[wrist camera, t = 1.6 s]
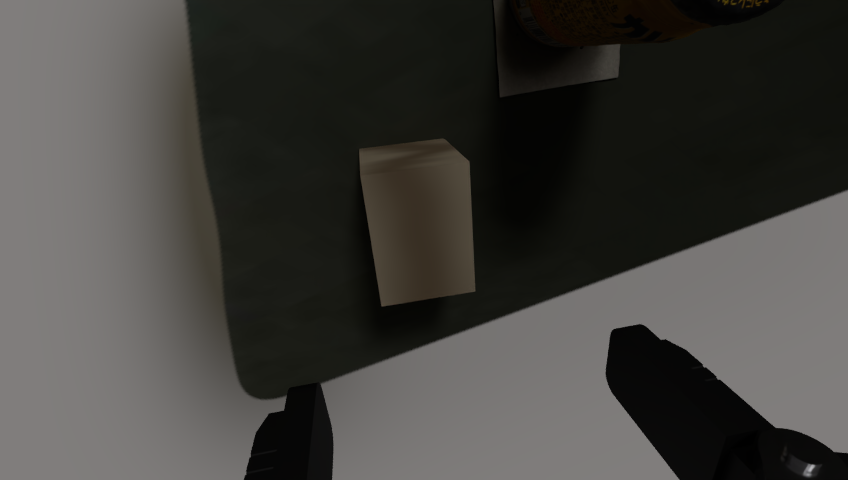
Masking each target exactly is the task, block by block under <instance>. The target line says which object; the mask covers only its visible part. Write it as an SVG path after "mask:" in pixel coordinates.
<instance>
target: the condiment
mask: <svg viewBox="0 0 848 480" xmlns="http://www.w3.org/2000/svg"><path fill="white" fill-rule="evenodd" d="M783 1H784V0H493V3H494V13H495V15H494V17H495V25H496V45H497V63H498V74H499V91H500V97H505V96H511V95H516V94H521V93H527V92H533V91H539V90H544V89H550V88H556V87H562V86H567V85H574V84H580V83H586V82H592V81H597V80H604V79H610V78H616V77H618V68H619V50H620V44H638V43H664V42H669V41H673V40H677V39H681V38H684V37H687V36H689V35H691V34H693V33H695V32H697V31H699V30H701V29H704V28H709V27H714V26H718V25H730V24H732V23H741V22H745V21H747V20H750V19H752V18H754V17H758V16H760V15H762V14H764V13H765V12H767V11H769V10H771V9H773V8H775V7H777V6H778V5H780V4H781V3H782V2H783ZM516 33H519V35H518V36H516ZM580 46H584V47H583V49H580Z"/></svg>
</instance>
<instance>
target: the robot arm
mask: <svg viewBox="0 0 848 480" xmlns="http://www.w3.org/2000/svg"><path fill="white" fill-rule="evenodd" d="M606 379H607V382H608V385H609V388H610V390H611V392H612V393H613V395H614V396H615V397H616V399H617V400H618V401H619V402H620V404H621V405H622V406H623V407H624V409H625V410H626V411H627V413H628V414H629V415H630V416H631V418H632V419H633V420H634V422H635V423H636V424H637V426H638V427H639V428H640V429H641V431H642V432H643V433H644V435H645V436H646V437H647V438H648V440H649V441H650V442H651V443H652V445H653V446H654V447H655V449H656V450H657V451H658V453H659V454H660V455H661V456H662V458H663V459H664V460H665V461H666V463H667V464H668V465H669V467H670V468H671V469H672V471H673V472H674V473H675V474H676V476H677V477H678V478H679V479H680V480H848V453H838V452H833V451H832V450H831V449H830V448H828V447H827V446H826V445H824V444H823V443H821V442H819V441H818V440H816V439H814V438H812V437H810V436H808V435H805V434H802V433H800V432H797V431H794V430H789V429H783V428H775V427H774V426H773V425H771V424H770V423H769V422H768V421H767V420H766V419H765V418H763V417H762V416H761V415H760V414H759V413H758V412H756V411H755V410H754V409H753V408H752V407H751V406H750V405H748V404H747V403H746V402H745V401H744V400H743V399H742V398H740V397H739V396H738V395H737V394H736V393H735V392H733V391H732V390H731V389H730V388H729V387H728V386H727V385H726V384H724V383H723V382H722V381H721V380H718V379H717V378H716V376H715V375H714V374H713V373H712V372H711V371H710V370H708V369H707V368H704V367H703V364H702V363H700V362H699V361H698V360H697V359H696V358H695V357H694V356H692V355H691V354H690V353H689V352H688V351H687V350H685V349H683V348H681V347H679V346H677V345H675V344H673V343H671V342H670V341H668V340H666V339H665V340H660V339H659V338H658V337H657V336H656V335H655V334H654V333H653V332H651V331H650V330H649V329H648V328H647V327H646V326H644V325H641V324H639V325H633V326H628V327H622V328H617V329H614V330H612V332H611V335H610V342H609V350H608V358H607V365H606ZM332 469H333V433H332V427H331V422H330V418H329V414H328V411H327V407H326V403H325V399H324V395H323V391H322V388H321V385H320V383H319V382H318V383H313V384H307V385H302V386H296V387H291V388H289V390H288V393H287V398H286V403H285V409H284V411H280V412H275V413H270V414H268V416H267V418H266V419H265V420H264V422H263V423H262V425H261V426H260V428H259V429H258V431H257V432H256V435H255V438H254V442H253V447H252V450H251V458H249V463H248V466H247V470H246V472H247V474H246V475H245V478H244V480H332Z"/></svg>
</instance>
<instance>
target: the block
mask: <svg viewBox="0 0 848 480" xmlns="http://www.w3.org/2000/svg"><path fill="white" fill-rule="evenodd" d="M359 156H360V177H361V183H362V189H363V195H364V201H365V207H366V213H367V220H368V226H369V232H370V238H371V244H372V250H373V257H374V263H375V269H376V275H377V281H378V287H379V294H380V300H381V306H382V307H383V306H389V305H395V304H401V303H407V302H413V301H419V300H425V299H431V298H438V297H444V296H450V295H456V294H462V293H468V292H474V291H475V276H474V253H473V231H472V209H471V187H470V164H469V161H468V160H467V159H466V158H465V157H464V156H463V155H461V154H460V153H459V152H458V151H457V150H456V149H455V148H454V147H453V146H452V145H450V144H449V143H448V142H447V141H446V140H445V139H436V140H428V141H420V142H412V143H404V144H396V145H388V146H379V147H371V148H363V149H359Z"/></svg>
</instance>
